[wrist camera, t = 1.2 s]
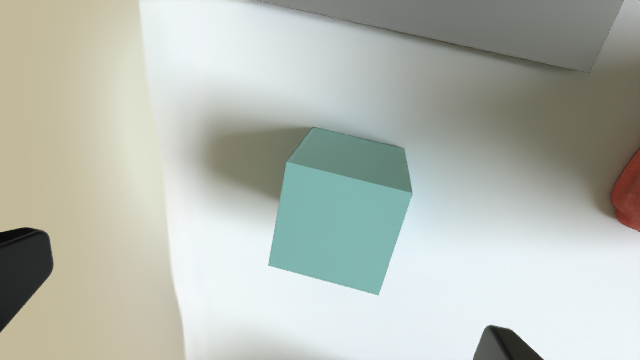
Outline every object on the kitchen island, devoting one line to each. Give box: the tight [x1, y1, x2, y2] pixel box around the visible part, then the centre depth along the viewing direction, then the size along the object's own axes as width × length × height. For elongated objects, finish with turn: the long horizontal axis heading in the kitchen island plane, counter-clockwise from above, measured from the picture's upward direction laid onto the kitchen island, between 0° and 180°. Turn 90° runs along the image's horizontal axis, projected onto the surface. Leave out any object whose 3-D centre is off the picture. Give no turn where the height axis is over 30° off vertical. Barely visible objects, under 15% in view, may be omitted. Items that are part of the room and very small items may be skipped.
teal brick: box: [268, 127, 412, 295], centre depth 18 cm, size 5×5×6 cm
